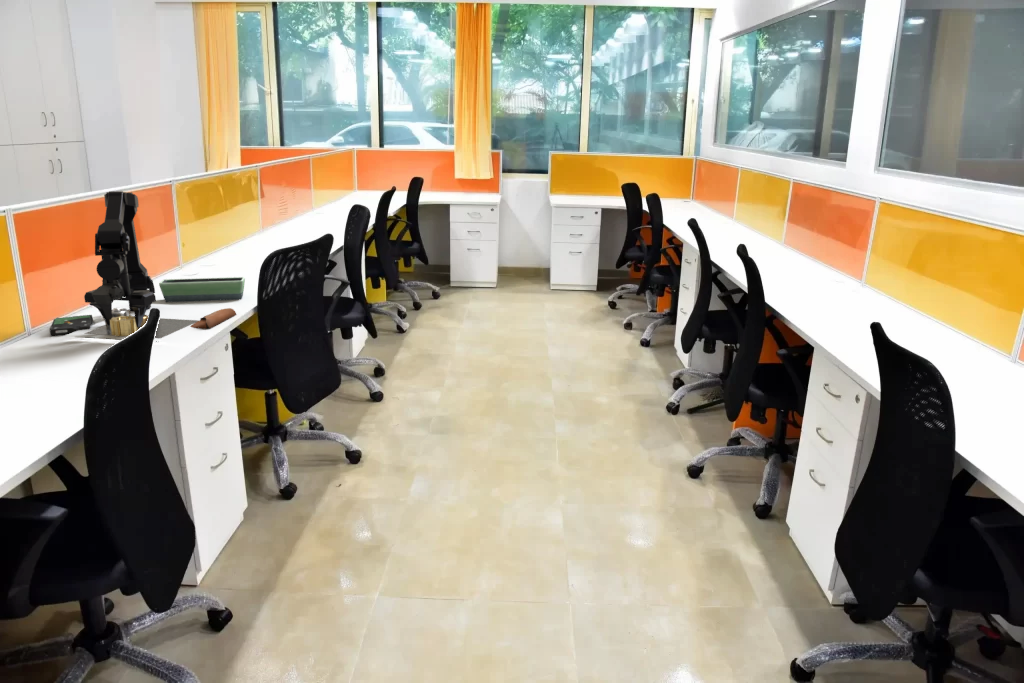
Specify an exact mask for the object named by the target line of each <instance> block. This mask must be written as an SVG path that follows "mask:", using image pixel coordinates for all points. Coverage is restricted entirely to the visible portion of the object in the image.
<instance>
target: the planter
mask: <svg viewBox="0 0 1024 683" xmlns="http://www.w3.org/2000/svg"><path fill="white" fill-rule="evenodd" d="M245 280H246V278H245V277H244V276H238V277H237V276H234V277H232V276H230V277H229V276H228V277H201V278H200V277H199V278H197V277H196V278H195V277H194V278H168V279H167V278H166V279H162V280H161V281H159V285H158V286H159V288H160V292H161V294H162V296H163V299H164V301H165V303H185V302H186V303H187V302H209V301H210V302H211V301H212V302H214V301H236V300H237V301H240V300H242V299H243V296H244V290H245ZM239 299H240V300H239Z"/></svg>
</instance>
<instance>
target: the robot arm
mask: <svg viewBox="0 0 1024 683" xmlns="http://www.w3.org/2000/svg"><path fill="white" fill-rule="evenodd" d="M103 196H104V205H105V207H106V208H105V209H106V210H105V216H104V222H102V223H101V224H100V225H98V226H97V227H98V228H97V231H96V233H95V234H94V256H97V257H98V256H99V257H100V256H101V260H100V261H99V262H98V263H97V266H96V272H97V275H98V276H99V277H100V278H101V279H102V280H101V282H102V285H100V286H98V287H97V288H96V289H93V290H89V291H87V292H85V293H84V295H83V299H84V302H85V303H87V304H89V305H90V306H93V307H94V308H96V309H98V312H99V313H100V314H101V316H102V318H103V320H104V322H105V321H106V323H107V325H108V326H110V320H111V318H112V310H113V309H112V308H113V307H112V305H113V302H114V301H126V302H128V307H129V310H130V312H133V313H134V316H135V321H136V326H137V327H140V326H141V323H142V320H143V318H144V315H146V313H147V311H148V310H150V309H151V307H152V304H153V303H154V302H156V301H157V299H156V295H155V293H156V290H155V285H154V282H153V281H154V280H153V279H152V278H151V276H150V275H149V273H148V269H147V268H146V267H145V266H144V265H143V264H142V263H141V260H140V259H141V257H140V253H139V251H140V250H139V247H138V246H139V245H138V240H137V235H136V234H137V233H136V229H135V222H134V221H135V220H134V219H135V217H136V214H137V211H138V208H139V197H138V196H137V195H136V194H134V193H133V192H132V191H131V192H125V191H123V190H121V191H118V190H113V191H108V192H106V193H105V194H104V195H103Z"/></svg>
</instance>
